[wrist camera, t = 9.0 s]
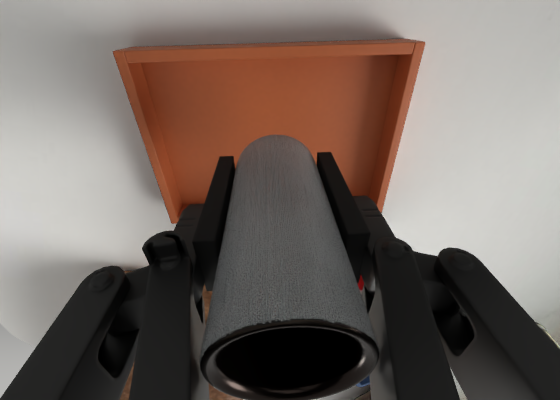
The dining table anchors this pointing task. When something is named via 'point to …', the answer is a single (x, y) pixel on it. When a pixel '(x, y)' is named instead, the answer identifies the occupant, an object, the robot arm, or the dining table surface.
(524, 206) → the dining table surface
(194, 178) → the clay tray
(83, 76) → the dining table surface
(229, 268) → the planter
